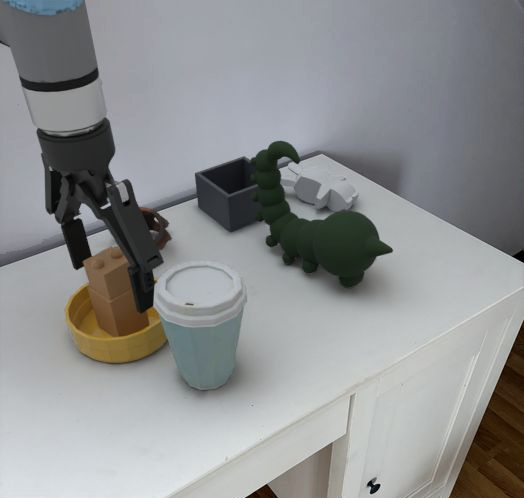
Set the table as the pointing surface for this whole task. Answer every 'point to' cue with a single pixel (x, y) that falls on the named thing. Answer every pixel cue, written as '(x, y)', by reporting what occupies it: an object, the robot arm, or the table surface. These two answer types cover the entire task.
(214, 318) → the disposable coffee cup
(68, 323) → the bowl
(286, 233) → the toy figurine
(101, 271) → the tan stacked block
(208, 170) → the bin
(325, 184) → the bunny figurine
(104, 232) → the table surface
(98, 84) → the robot arm
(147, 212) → the rusty brown ring frame
